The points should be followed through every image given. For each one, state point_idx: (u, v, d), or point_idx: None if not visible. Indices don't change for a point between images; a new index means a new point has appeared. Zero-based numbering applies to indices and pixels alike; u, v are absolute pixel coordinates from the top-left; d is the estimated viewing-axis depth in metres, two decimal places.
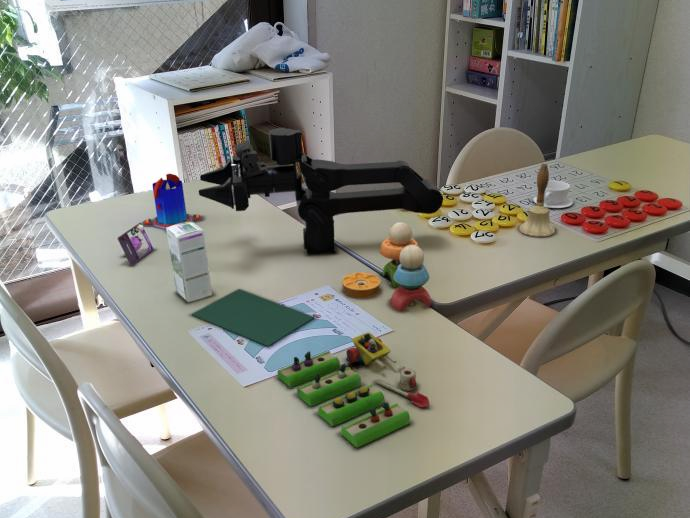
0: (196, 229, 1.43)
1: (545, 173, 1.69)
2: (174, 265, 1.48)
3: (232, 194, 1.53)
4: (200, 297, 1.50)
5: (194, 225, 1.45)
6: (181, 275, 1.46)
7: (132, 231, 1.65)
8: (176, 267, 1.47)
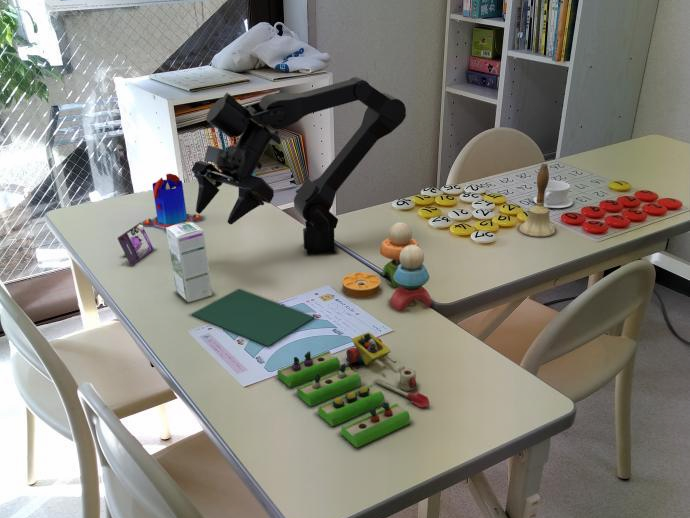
0: (196, 229, 1.43)
1: (545, 173, 1.69)
2: (174, 265, 1.48)
3: (256, 195, 1.46)
4: (200, 297, 1.50)
5: (194, 225, 1.45)
6: (181, 275, 1.46)
7: (132, 231, 1.65)
8: (176, 267, 1.47)
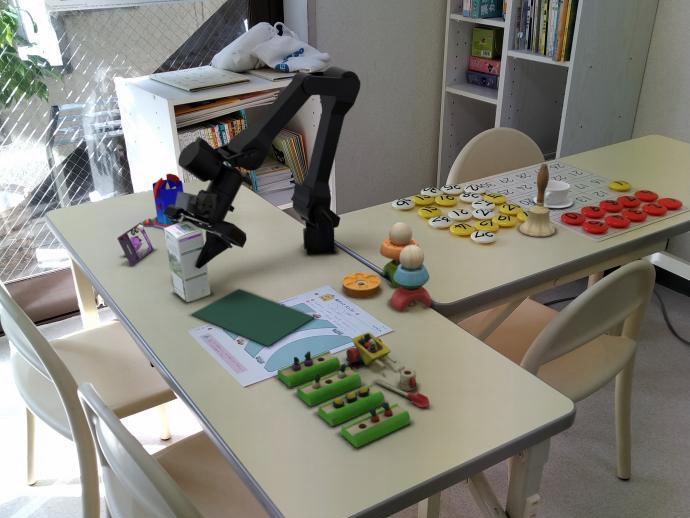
0: (195, 229, 1.43)
1: (545, 173, 1.69)
2: (172, 265, 1.47)
3: (224, 239, 1.44)
4: (199, 297, 1.50)
5: (192, 225, 1.45)
6: (180, 275, 1.46)
7: (132, 231, 1.65)
8: (175, 268, 1.47)
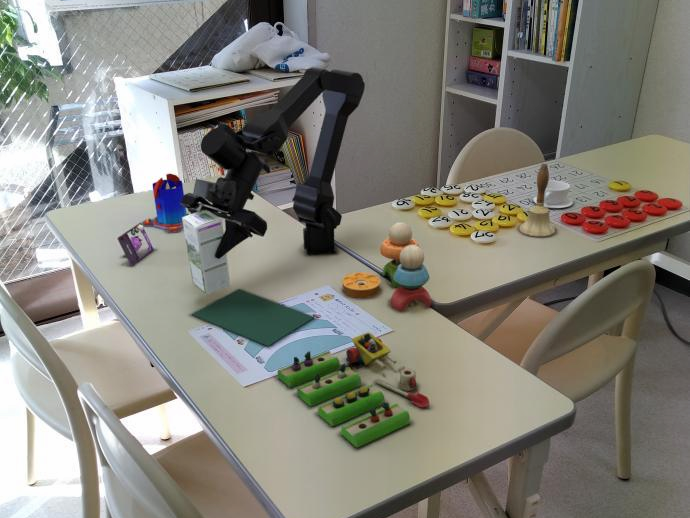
0: (214, 218, 1.39)
1: (545, 173, 1.69)
2: (191, 256, 1.43)
3: (244, 228, 1.40)
4: (218, 288, 1.45)
5: (211, 214, 1.40)
6: (199, 266, 1.41)
7: (132, 231, 1.65)
8: (193, 258, 1.42)
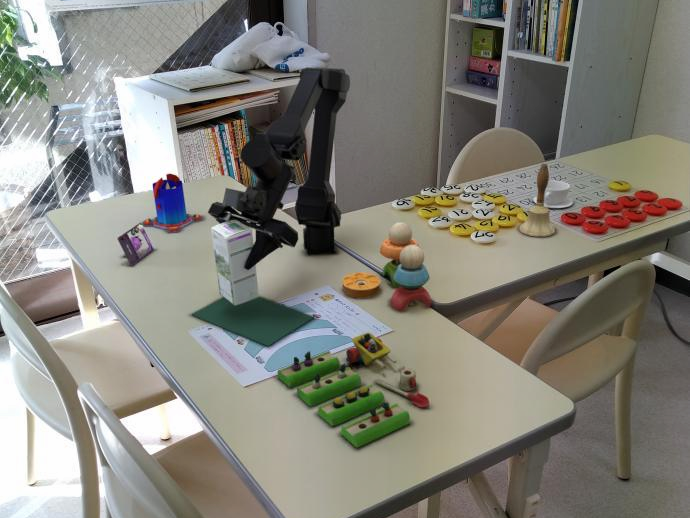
0: (244, 228, 1.35)
1: (545, 173, 1.69)
2: (219, 267, 1.39)
3: (275, 239, 1.36)
4: (247, 300, 1.41)
5: (241, 224, 1.37)
6: (228, 277, 1.37)
7: (132, 231, 1.65)
8: (222, 269, 1.38)
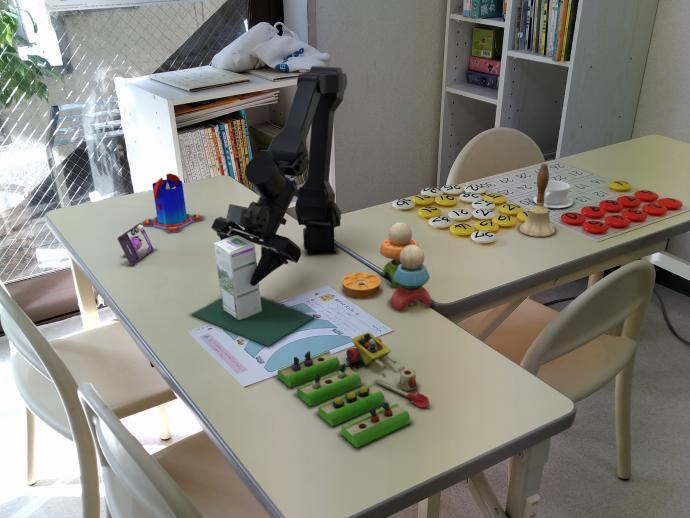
0: (247, 243, 1.36)
1: (545, 173, 1.69)
2: (223, 282, 1.40)
3: (280, 255, 1.37)
4: (250, 314, 1.43)
5: (243, 239, 1.38)
6: (232, 292, 1.39)
7: (132, 231, 1.65)
8: (225, 284, 1.40)
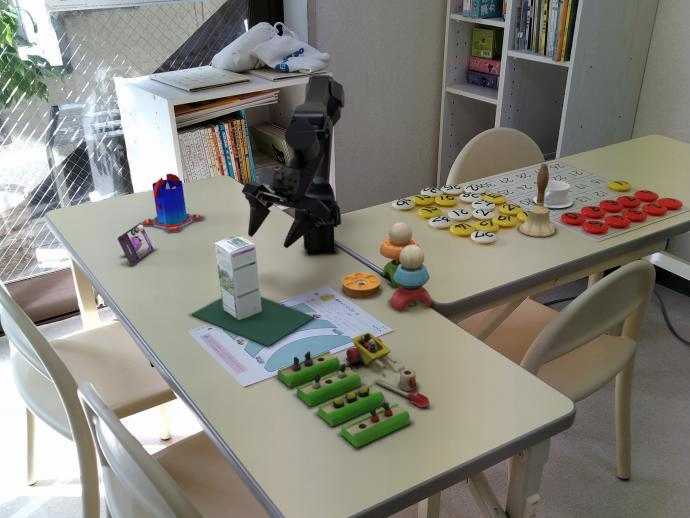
0: (248, 243, 1.36)
1: (545, 173, 1.69)
2: (223, 282, 1.40)
3: (313, 217, 1.40)
4: (250, 314, 1.43)
5: (244, 239, 1.38)
6: (232, 292, 1.39)
7: (132, 231, 1.65)
8: (225, 284, 1.40)
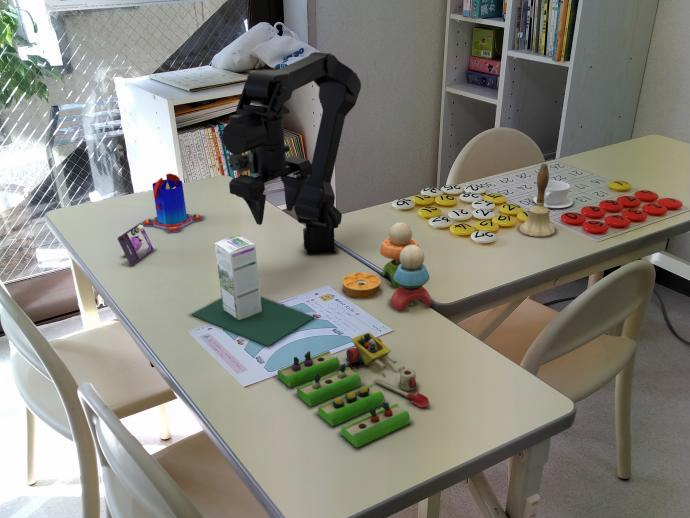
0: (248, 243, 1.36)
1: (545, 173, 1.69)
2: (223, 282, 1.40)
3: None
4: (250, 314, 1.43)
5: (244, 239, 1.38)
6: (232, 292, 1.39)
7: (132, 231, 1.65)
8: (225, 284, 1.40)
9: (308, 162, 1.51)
